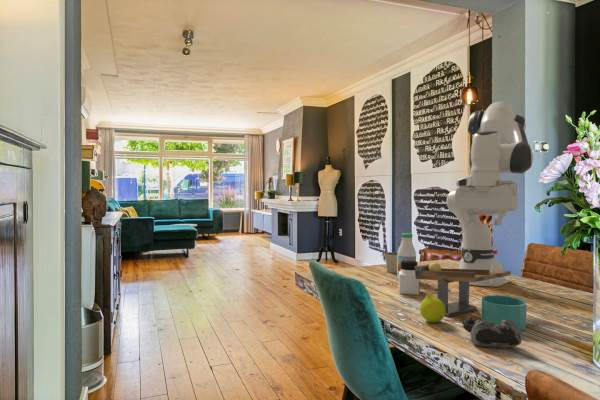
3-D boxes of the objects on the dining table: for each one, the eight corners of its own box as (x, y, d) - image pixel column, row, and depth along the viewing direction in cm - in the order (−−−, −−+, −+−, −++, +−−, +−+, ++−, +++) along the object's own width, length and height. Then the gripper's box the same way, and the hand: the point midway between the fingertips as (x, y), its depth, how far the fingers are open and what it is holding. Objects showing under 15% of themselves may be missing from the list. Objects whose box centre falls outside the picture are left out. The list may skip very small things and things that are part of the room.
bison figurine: (524, 353, 96) (509, 336, 106) (524, 324, 96) (509, 309, 106) (470, 350, 98) (460, 334, 108) (471, 322, 98) (461, 308, 108)
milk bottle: (393, 279, 174) (393, 232, 174) (408, 278, 177) (408, 232, 177) (404, 283, 167) (405, 234, 167) (419, 281, 170) (420, 233, 170)
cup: (496, 316, 123) (496, 293, 123) (533, 326, 114) (534, 302, 114) (473, 322, 117) (473, 298, 117) (511, 334, 108) (512, 308, 108)
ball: (435, 274, 138) (432, 262, 139) (444, 273, 135) (442, 261, 135) (427, 275, 136) (424, 263, 136) (436, 274, 132) (434, 262, 133)
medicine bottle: (419, 294, 149) (419, 262, 148) (399, 293, 150) (399, 261, 150) (417, 290, 156) (418, 259, 155) (398, 289, 157) (398, 258, 157)
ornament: (416, 318, 122) (416, 284, 121) (439, 317, 122) (439, 284, 122) (425, 326, 114) (425, 290, 114) (449, 325, 115) (450, 290, 115)
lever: (452, 275, 147) (450, 261, 148) (511, 277, 129) (509, 261, 129) (416, 281, 137) (414, 266, 138) (474, 285, 119) (472, 267, 119)
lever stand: (457, 304, 136) (458, 274, 136) (476, 309, 130) (477, 278, 130) (429, 311, 129) (430, 279, 128) (448, 316, 123) (448, 283, 123)
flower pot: (380, 270, 195) (381, 252, 195) (399, 269, 196) (400, 251, 196) (387, 274, 185) (387, 255, 185) (407, 273, 186) (407, 255, 186)
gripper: (522, 180, 124) (521, 226, 124) (463, 182, 141) (462, 222, 141) (510, 179, 120) (509, 226, 121) (452, 181, 138) (451, 222, 138)
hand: (483, 224), depth 131 cm, fingers open, 8 cm apart
